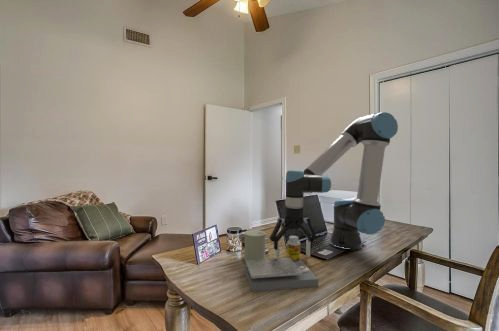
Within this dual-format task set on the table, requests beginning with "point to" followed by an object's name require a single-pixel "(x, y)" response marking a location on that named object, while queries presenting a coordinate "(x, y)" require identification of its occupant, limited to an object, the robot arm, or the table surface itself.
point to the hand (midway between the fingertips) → (292, 256)
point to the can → (254, 245)
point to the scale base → (283, 280)
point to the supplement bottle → (293, 248)
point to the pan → (272, 267)
